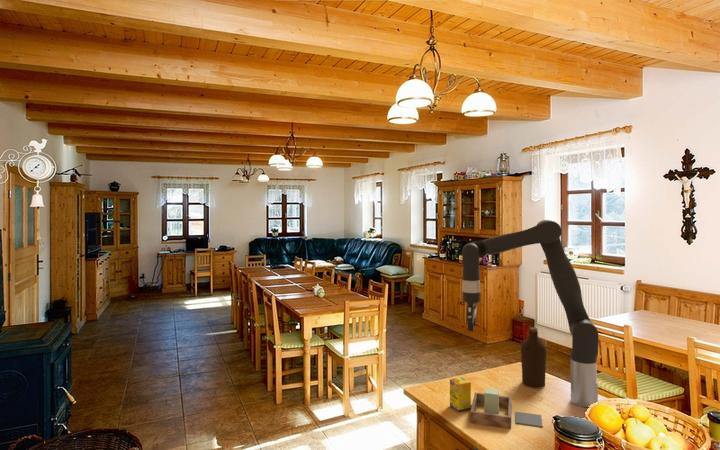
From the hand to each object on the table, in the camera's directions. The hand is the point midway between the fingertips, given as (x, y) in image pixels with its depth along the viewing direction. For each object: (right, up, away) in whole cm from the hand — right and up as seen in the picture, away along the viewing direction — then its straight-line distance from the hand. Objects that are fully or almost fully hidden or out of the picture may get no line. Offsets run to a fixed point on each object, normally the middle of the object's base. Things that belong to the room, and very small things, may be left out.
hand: (471, 328), depth 184 cm
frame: (+2, -28, -20) cm, 34 cm away
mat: (+15, -28, -24) cm, 40 cm away
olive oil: (+30, -27, +9) cm, 41 cm away
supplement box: (-8, -28, -14) cm, 32 cm away
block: (+2, -28, -20) cm, 34 cm away
